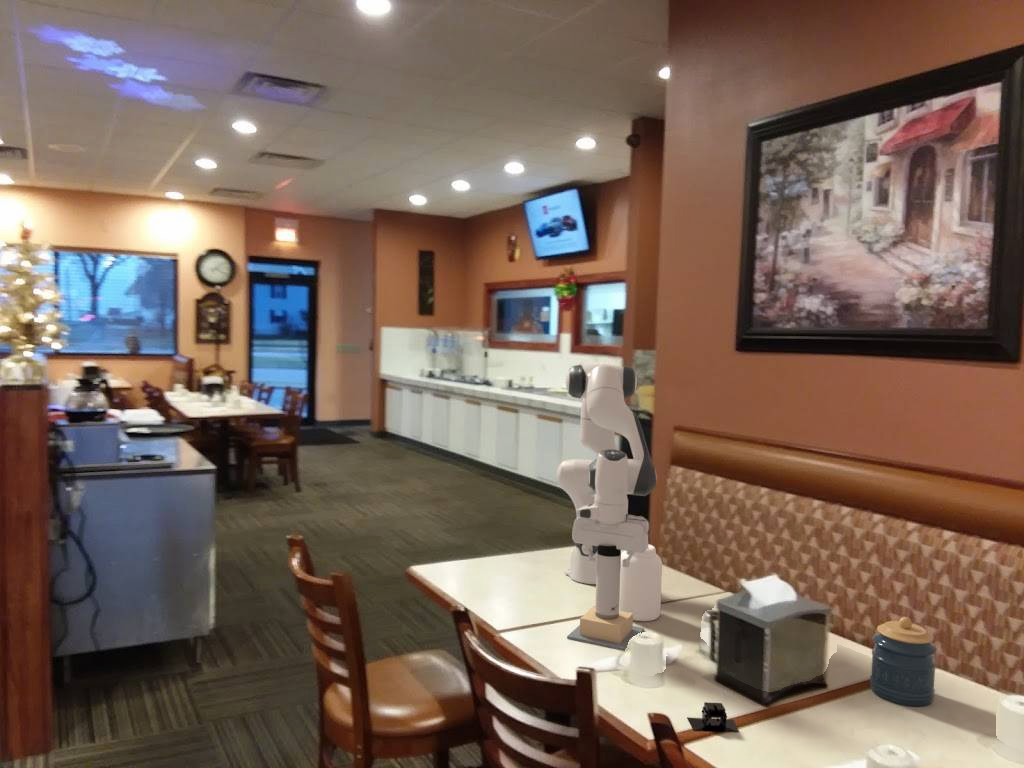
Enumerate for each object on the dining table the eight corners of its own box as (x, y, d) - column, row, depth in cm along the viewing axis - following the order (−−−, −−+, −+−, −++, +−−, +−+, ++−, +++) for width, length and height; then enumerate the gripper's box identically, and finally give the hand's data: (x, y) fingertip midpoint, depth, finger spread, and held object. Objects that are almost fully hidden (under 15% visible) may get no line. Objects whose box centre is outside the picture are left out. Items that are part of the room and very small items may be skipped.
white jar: (668, 614, 220) (671, 546, 218) (644, 625, 210) (647, 554, 209) (632, 603, 228) (634, 537, 227) (607, 613, 219) (609, 544, 218)
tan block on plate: (588, 619, 214) (589, 601, 214) (644, 630, 207) (644, 611, 207) (567, 638, 200) (567, 619, 199) (626, 650, 193) (626, 631, 192)
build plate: (686, 736, 153) (687, 713, 153) (679, 718, 160) (680, 696, 160) (749, 737, 153) (750, 714, 152) (738, 719, 160) (739, 697, 160)
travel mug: (619, 620, 200) (622, 545, 198) (594, 618, 201) (596, 543, 200) (620, 612, 206) (623, 539, 205) (596, 610, 207) (598, 537, 206)
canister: (860, 680, 180) (864, 606, 179) (916, 682, 179) (920, 608, 178) (885, 706, 167) (889, 627, 166) (945, 709, 166) (950, 629, 165)
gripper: (652, 514, 200) (650, 566, 201) (579, 505, 209) (577, 555, 210) (645, 519, 194) (643, 573, 195) (570, 509, 203) (569, 561, 204)
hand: (608, 563), depth 203 cm, fingers open, 8 cm apart
